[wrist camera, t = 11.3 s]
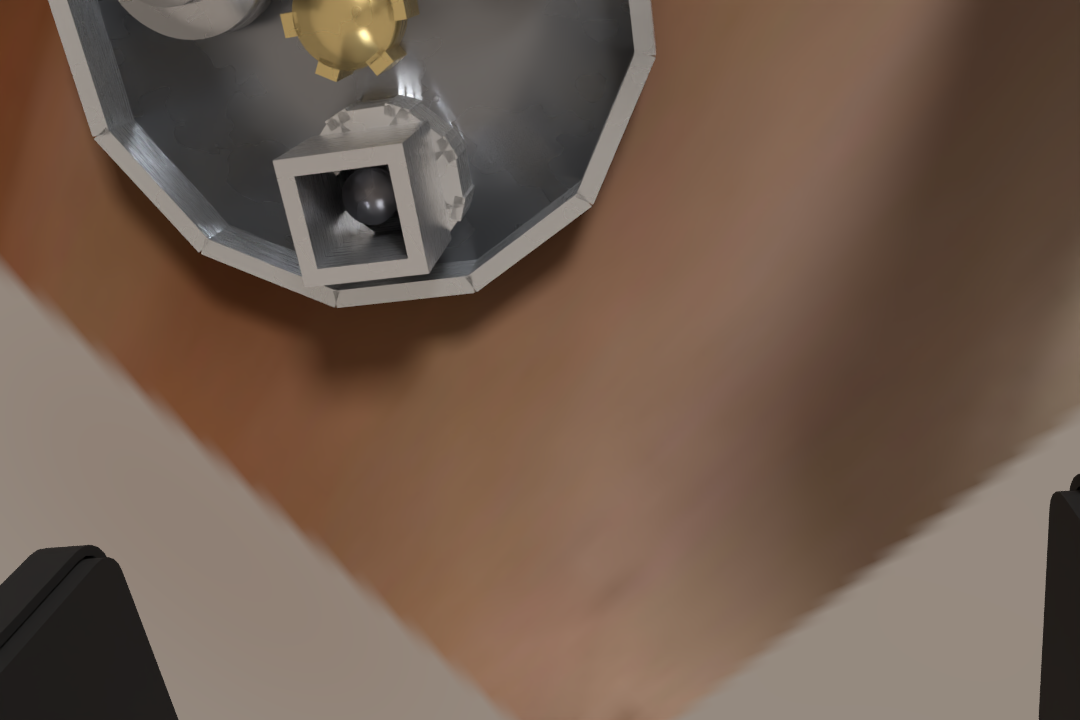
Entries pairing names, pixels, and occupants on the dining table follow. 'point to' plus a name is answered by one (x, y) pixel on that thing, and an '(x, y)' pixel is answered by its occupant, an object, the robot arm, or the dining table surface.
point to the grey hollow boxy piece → (418, 182)
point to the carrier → (343, 79)
